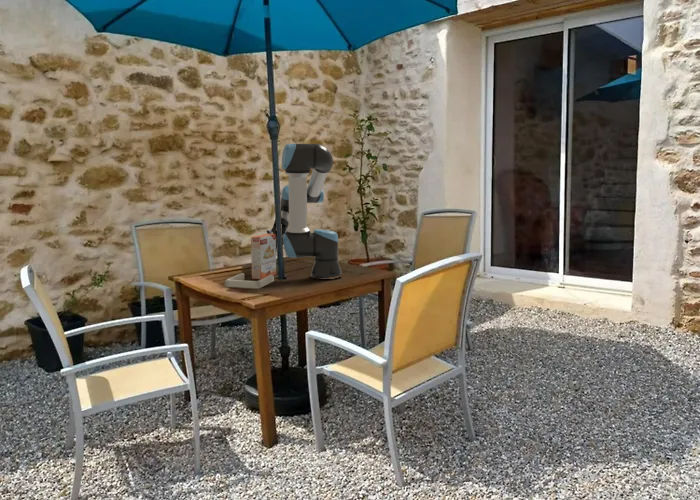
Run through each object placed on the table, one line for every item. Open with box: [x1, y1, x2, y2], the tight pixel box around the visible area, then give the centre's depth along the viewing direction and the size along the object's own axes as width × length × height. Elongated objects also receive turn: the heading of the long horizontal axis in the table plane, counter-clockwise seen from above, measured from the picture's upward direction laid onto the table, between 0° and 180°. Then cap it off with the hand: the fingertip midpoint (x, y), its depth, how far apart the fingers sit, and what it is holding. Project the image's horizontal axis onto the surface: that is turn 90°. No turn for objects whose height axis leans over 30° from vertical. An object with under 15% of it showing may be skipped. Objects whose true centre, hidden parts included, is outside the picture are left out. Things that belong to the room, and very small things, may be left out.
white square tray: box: [224, 272, 275, 290], centre depth 275 cm, size 17×17×3 cm
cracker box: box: [250, 233, 277, 281], centre depth 289 cm, size 14×6×21 cm, turn 155°
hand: (270, 257), depth 298 cm, fingers closed
